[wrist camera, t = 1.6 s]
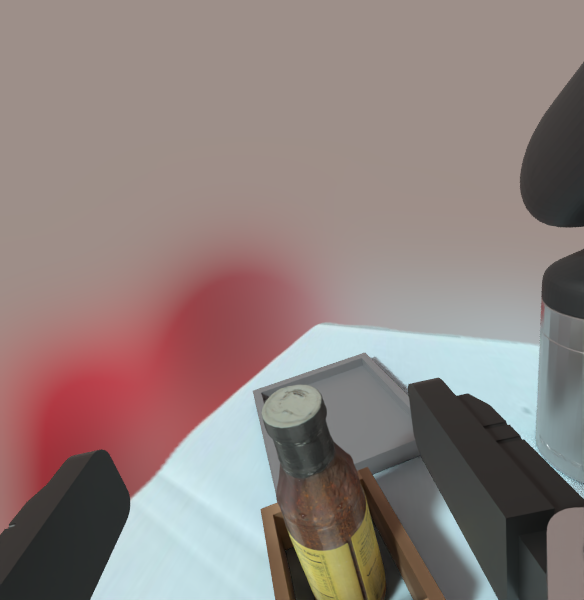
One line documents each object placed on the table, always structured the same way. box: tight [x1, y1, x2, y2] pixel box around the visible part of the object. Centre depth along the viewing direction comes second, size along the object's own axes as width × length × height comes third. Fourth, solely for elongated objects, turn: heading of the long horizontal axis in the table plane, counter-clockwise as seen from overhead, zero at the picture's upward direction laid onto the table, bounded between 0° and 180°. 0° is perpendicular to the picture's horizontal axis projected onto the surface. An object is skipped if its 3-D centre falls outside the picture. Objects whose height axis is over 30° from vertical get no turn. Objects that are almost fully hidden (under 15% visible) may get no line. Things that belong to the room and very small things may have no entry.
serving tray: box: [253, 353, 420, 492], centre depth 46 cm, size 20×20×2 cm
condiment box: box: [261, 467, 446, 600], centre depth 27 cm, size 11×12×5 cm
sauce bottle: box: [262, 385, 386, 600], centre depth 24 cm, size 7×6×20 cm
